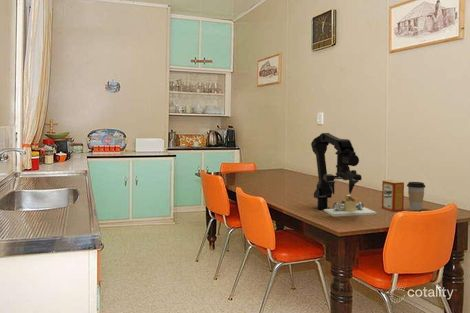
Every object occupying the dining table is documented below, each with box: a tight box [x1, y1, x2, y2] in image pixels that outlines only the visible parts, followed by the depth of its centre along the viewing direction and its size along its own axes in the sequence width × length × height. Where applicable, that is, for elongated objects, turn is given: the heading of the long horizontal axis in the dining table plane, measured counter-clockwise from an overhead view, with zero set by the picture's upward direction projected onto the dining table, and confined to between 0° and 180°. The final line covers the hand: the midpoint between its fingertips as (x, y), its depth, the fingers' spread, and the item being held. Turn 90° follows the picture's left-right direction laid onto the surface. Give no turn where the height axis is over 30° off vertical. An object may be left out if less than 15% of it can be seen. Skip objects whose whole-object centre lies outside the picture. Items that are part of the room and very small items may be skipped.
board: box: [323, 206, 377, 218], centre depth 218 cm, size 13×24×1 cm, turn 99°
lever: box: [344, 193, 360, 203], centre depth 215 cm, size 12×3×2 cm, turn 9°
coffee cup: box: [406, 181, 426, 212], centre depth 224 cm, size 9×9×15 cm
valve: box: [332, 198, 365, 211], centre depth 219 cm, size 16×5×6 cm, turn 99°
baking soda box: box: [381, 179, 405, 212], centre depth 225 cm, size 10×6×16 cm
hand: (341, 193), depth 210 cm, fingers open, 9 cm apart
